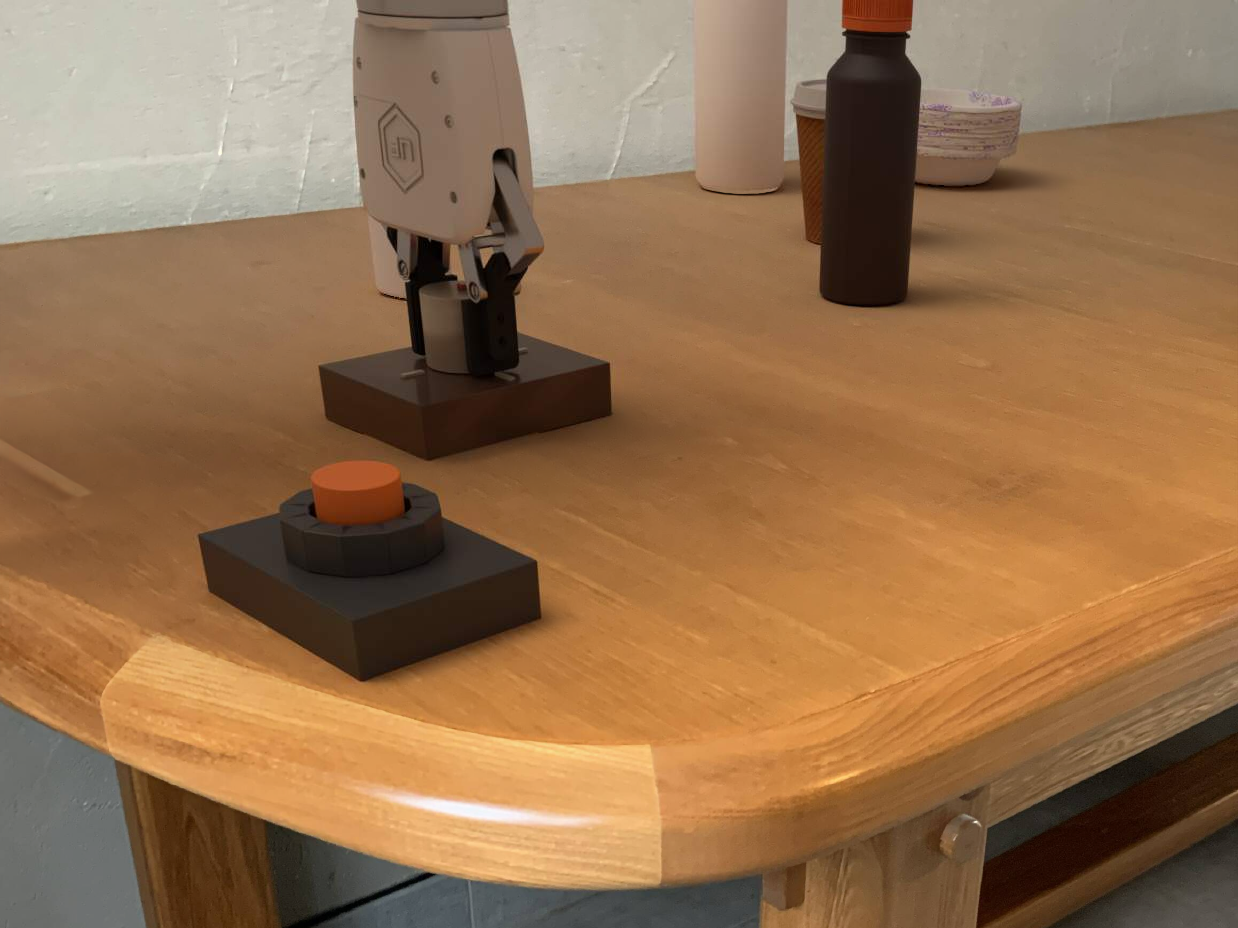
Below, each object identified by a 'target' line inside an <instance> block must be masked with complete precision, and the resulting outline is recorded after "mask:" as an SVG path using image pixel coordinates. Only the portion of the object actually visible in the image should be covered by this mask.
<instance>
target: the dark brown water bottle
mask: <svg viewBox="0 0 1238 928" xmlns="http://www.w3.org/2000/svg"><path fill="white" fill-rule="evenodd" d="M841 2H842V3H841V28H842V29H844V31H842V32H841V35H842V36H843V37H845V45H844V46H845V47H844V52H843V53H842V54H841V55H840V57H839V58H838V59H837V60H836V61H835V62H834V63H833V64H832V66H831V67H830V68H829V70H828V71H827V73H826V79H827V81H826V109H825V138H824V167H823V196H822V224H821V244H820V254H819V283H818V284H819V285H818V287H819V288H818V289H819V293H820V295H821V296H823V297H824V298H825V299H827V300H830V301H832V302H836V303H841V304H845V305H853V306H885V305H891V304H892V305H893V304H896V303H899V302H901V301H903V300H904V299H905V298H906V297H907V296H908V292H909V277H910V276H909V275H910V264H911V263H910V262H911V249H912V248H911V247H912V232H913V231H912V230H913V215H914V204H915V203H914V202H915V201H914V200H915V185H916V183H915V173H916V158H917V143H918V128H919V113H920V97H921V88H922V78H921V77H922V76H921V75H920V73H919V70H917V68H916V67H915V65H914V64H913V63H912V61H911V60H910V58H909V57H908V56H907V53H906V52H907V51H906V50H907V40H910V39H911V35H910V34H909V33H908V32H910V31H912V29H913V28H912V26H913V14H914V12H913V11H914V0H842V1H841Z"/></svg>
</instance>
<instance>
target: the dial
mask: <svg viewBox="0 0 1238 928" xmlns="http://www.w3.org/2000/svg"><path fill="white" fill-rule="evenodd" d="M419 297H420V306H421V315H422V325H423V334H424V344H425V353H426V362H427V365H428V366H429V367H430V368H432V369H434V370H437V371H441V372H447V373H458V374H469V372H468V369H467V362H466V351H465V340H464V329H463V318H462V305H461V300H466V299H470V297H469V295H468V291H467V287H466V282H465V280H458V281H444V282H437V283H432V284H428V285H425V286H423V287H421V288H420V289H419Z"/></svg>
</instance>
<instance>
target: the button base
mask: <svg viewBox="0 0 1238 928" xmlns="http://www.w3.org/2000/svg"><path fill="white" fill-rule="evenodd" d="M402 489H403V498H404V506H405V514H403V515H402V516H401V517H398V518H395V519H391V520H388V521H384V522H381V523H372V524H358V525H341V524H333V523H325V522H323V521H321V520H319V519H317V516H316V509H315V503H314V496H313V490H312V487H311V488H307V489H304V490H301V491H298V492H297V493H294V495H292V496H290V497H289V498H287V499H286V500H284V501H283V502H282V503H280V504H279V506H278V510H279V511H278V512H276V513H273V514H269V515H265V516H262V517H258V518H254V519H250V520H247V521H243V522H239V523H234V524H231V525H228V526H223V527H220V528H216V529H213V530H209V531H204V532H201V533H198V534H197V538H198V545H199V550H200V554H201V559H202V565H203V570H204V573H205V579H206V584H207V589H208V592H209V593H211V594H212V595H214V596H216V597H217V598H219V599H220V600H223V601H224V602H226V603H227V604H228V605H230V606H232V607H234V608H236V609H238V610H239V611H241V612H243V613H244V614H246V615H248V616H249V617H251V618H253V619H254V620H256V621H258V622H260V623H261V624H263V625H264V626H266V627H268V628H270V629H271V630H273V631H274V632H276V633H278V634H279V635H281V636H283V637H284V638H286V639H288V640H289V641H291V642H293V643H295V644H297V645H298V646H300V647H302V649H305V650H306V651H308V652H309V653H312V654H313V655H315V656H317V657H319V659H322V660H323V661H325V662H327V663H328V664H330V665H332V666H333V667H335V668H337V669H339V670H340V671H341V672H344V673H345V674H347V675H349V677H352V678H354V680H355V679H356V680H357V681H359V682H361V683H362V682H365V681H368V680H371V679H374V678H377V677H380V676H382V675H386V674H388V673H391V672H393V671H397V670H400V669H402V668H405V667H407V666H411V665H413V664H417V663H419V662H422V661H425V660H427V659H430V658H433V657H436V656H439V655H441V654H444V653H445V654H446V653H447V652H451V651H453V650H455V649H459V648H461V647H464V646H467V645H471V644H473V643H475V642H478V641H481V640H485V639H487V638H491V637H492V636H495V635H498V634H501V633H503V632H507V631H510V630H513V629H516V628H517V627H521V626H524V625H526V624H529V623H533V622H535V621H538V620H541V619H542V607H541V595H540V578H539V567H538V560H536V559H534V558H532V557H531V556H528V555H526V554H524V553H521V552H520V551H517V550H515V549H513V548H511V547H508V546H507V545H504V544H502V543H500V542H498V541H496V540H493V539H492V538H489V537H487V536H485V535H482V534H480V533H478V532H476V531H474V530H472V529H470V528H467V527H465V526H463V525H461V524H458V523H457V522H454V521H453V520H450V519H448V518H445V517H444V516H443V515H442V507H441V504H440V499H439V496H438V495H437V493H435V492H433V491H432V490H429V489H427V488H424V487H421V486H420V485H418V484H415V483H411V482H402Z"/></svg>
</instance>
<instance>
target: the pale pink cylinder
mask: <svg viewBox="0 0 1238 928" xmlns="http://www.w3.org/2000/svg"><path fill="white" fill-rule="evenodd" d="M693 17H694V18H693V25H694V26H693V28H694V29H693V33H694V35H693V39H694V41H693V44H694V47H693V49H694V51H693V54H694V59H693V60H694V163H695V164H694V165H695V166H694V171H695V173H694V175H695V179H696V181H697V183H698V182H699V183H700V184H701V185H704V186H707V187H712V188H717V189H726V190H741V191H744V190H745V191H749V190H764V189H772V188H776V187H779V188H780V186H781V184H783V181H784V176H785V175H784V173H785V172H784V171H785V170H784V169H785V132H786V131H785V129H786V128H785V126H786V123H785V121H786V88H787V87H786V83H787V82H786V79H787V41H788V39H787V35H788V0H693ZM699 183H698V184H699Z"/></svg>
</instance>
